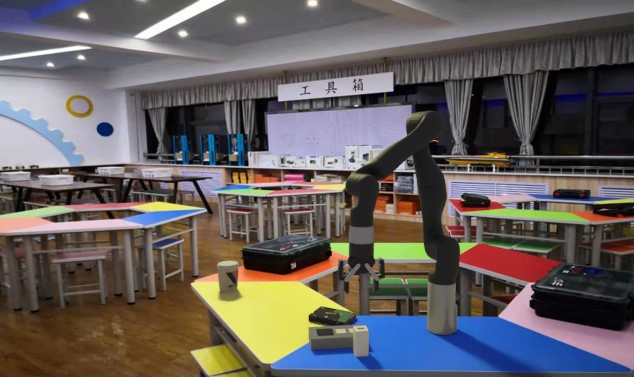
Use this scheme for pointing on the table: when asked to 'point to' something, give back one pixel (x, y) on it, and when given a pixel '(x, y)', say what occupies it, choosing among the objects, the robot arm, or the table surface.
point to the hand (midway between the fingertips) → (360, 292)
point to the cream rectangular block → (360, 341)
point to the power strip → (331, 337)
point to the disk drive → (332, 316)
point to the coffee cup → (228, 276)
